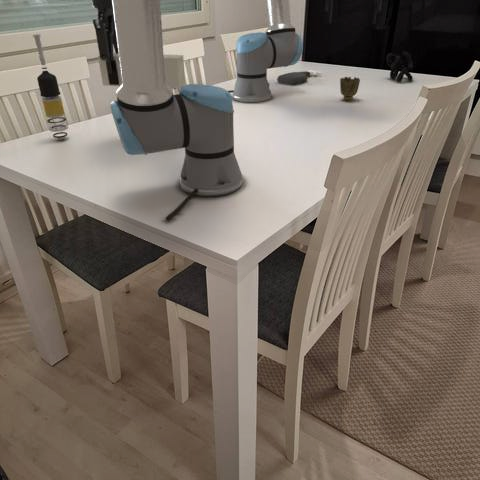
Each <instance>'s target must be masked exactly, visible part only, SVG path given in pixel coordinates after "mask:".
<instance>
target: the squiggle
mask: <svg viewBox="0 0 480 480" xmlns="http://www.w3.org/2000/svg"><path fill="white" fill-rule="evenodd" d="M401 57H402V59H401ZM391 59H392V60H391ZM393 60H394V61H393ZM385 61H386V64H387V67H390V68H391V70H390V72H389V78H390V79H391V80H395V79H396V81H397V82H399V83H400V82H402V81H403V79H404V76H406V78H407V80H408V81H412V80H413V79H414V77H413V75H412V74H411V73H410V72H409V71H410V70H412V69H413V68H414V64H413V61H412V57H411V54H410V53H409V52H408V51H403V53H402V54H401V55H396V54H394V53H392V52H390V53H387V55H386V57H385ZM406 62H407V65H408V66H407V67H405V66H404V65H405V64H406ZM400 70H401V71H400Z"/></svg>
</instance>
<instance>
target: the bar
mask: <svg viewBox="0 0 480 480" xmlns="http://www.w3.org/2000/svg"><path fill="white" fill-rule="evenodd" d="M163 55H164V71H165V83H166V84H167V85H168V86H170V87H171V88H172V89H174V88H175V89H174V90H177V89H179V90H180V87H181V86H183V85H186V74H185V61H184V55H183V54H163ZM113 56H114V60H116V66H117V73H118V79H119V85H109V79H108V73H107V67H106V61H102V60H101V59H100V55H97V59H98V64H99V71H100V75H101V82H102V86H108V87H120V86H121V85H122V84H123V82H122V74H121V67H120V59H119V53H115V52H113Z"/></svg>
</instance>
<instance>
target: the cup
mask: <svg viewBox="0 0 480 480" xmlns="http://www.w3.org/2000/svg"><path fill="white" fill-rule="evenodd" d="M360 82H361V78H359V77H357V76H355V77H354V78H352V77H351V76H349V77H348V76H344V77H340V79H339V86H340V87H339V89H340V93H341V95H342V96H343V97H342V98H343V101H346V102H347V101H348V102H350V101H353V99H354V96H356V95H357V93H358V90H359V87H360Z"/></svg>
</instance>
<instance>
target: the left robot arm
mask: <svg viewBox="0 0 480 480" xmlns="http://www.w3.org/2000/svg"><path fill="white" fill-rule="evenodd" d="M91 6H92V7H93V8H94V9H97V18H95V19H93V20H92V24H93V27H94V30H95V37H96V41H97V49H98V55H99V56H100V59H101V60H102V61H106V67H107V73H108V79H109V85H119V79H118V73H117V66H116V60H114V56H113V53H119V59H120V67H121V74H122V82H123V84H122V85H121V86H119V87H118V88H117V90H116V93H115V94H116V95H115V96H116V100H113V101H112V102H110V103H109V106H110V111H111V115H112V118H113V122H114V125H115V128H116V131H117V134H118V137H119V140H120V143H121V145H122V148H123V151H125V153H126V154H127V155H130V156H138V155H145V156H146V155H148V154H154V153H161V152H167V151H174V150H179V149H184V154H185V155H184V158H183V164H182V168H181V171H180V177H179V183H180V184H179V185H180V188H181V189H182V191H184V192H186V193H187V194H188V195H187V196H186V198H185V199H184V200H183V201H181V203H180V204H179V205H178V206H177V207H175V209H174V210H172V211H171V212H170V213H169V214H168V215H166V216H165V220H166V221H169V220H171V219H172V218H173V217H174V216H176V215H177V214H178V213H179V212H180V211H181V210H183V208H184V207H185V206H186V205H187V204H188V203H189V201H190V200H191V199H192V198H194V196H199V197H221V196H224V195H229V194H232V193H234V192H235V191H237V190H239V189H240V188H241V187H242V185H243V174H242V171H241V168H240V165H239V163H238V160H237V157H236V154H235V132H234V127H235V126H234V113H235V110H234V104H233V95H232V94H231V93H229V92H228V91H229V90H227V89H225V88H223V87H220V86H216V85H212V84H203V83H189V84H188V83H187V84H185V85H183V86H181V87H180V89H179V90H178V94H174V91H173V90H174V89H173V88H171V87H170V86H168V85H167V84H166V83H165V71H164V55H165V54H164V43H163V42H164V41H163V40H164V39H163V28H162V26H163V24H162V9H161V8H162V7H161V0H91Z"/></svg>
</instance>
